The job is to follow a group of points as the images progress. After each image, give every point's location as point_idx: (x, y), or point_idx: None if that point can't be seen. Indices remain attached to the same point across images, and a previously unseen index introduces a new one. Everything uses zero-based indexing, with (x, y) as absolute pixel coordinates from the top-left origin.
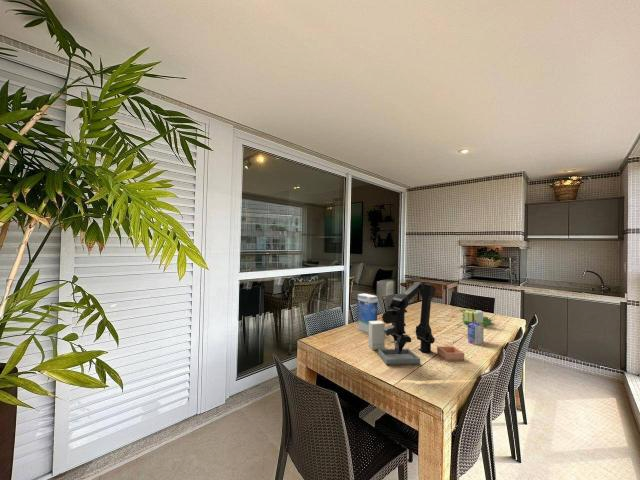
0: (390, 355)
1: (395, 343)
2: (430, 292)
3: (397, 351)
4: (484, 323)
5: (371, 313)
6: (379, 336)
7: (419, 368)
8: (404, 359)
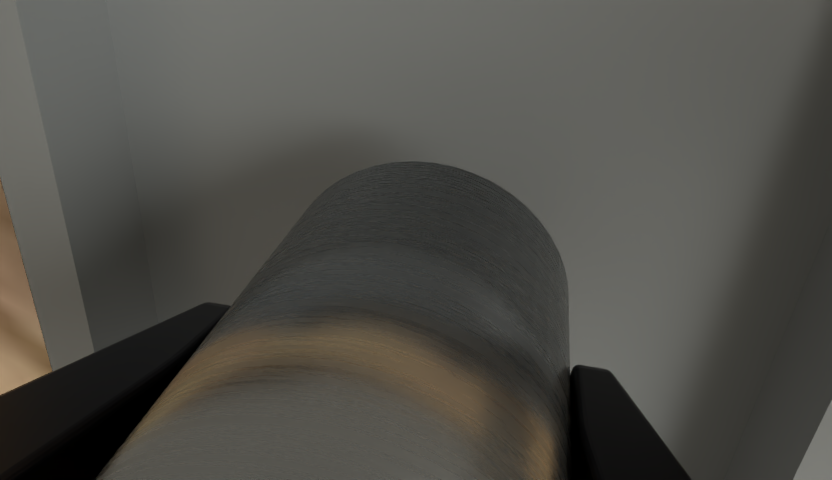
0: (668, 28)
1: (221, 472)
2: None
3: (284, 244)
4: None
5: None
6: None
7: (7, 360)
8: (24, 225)
